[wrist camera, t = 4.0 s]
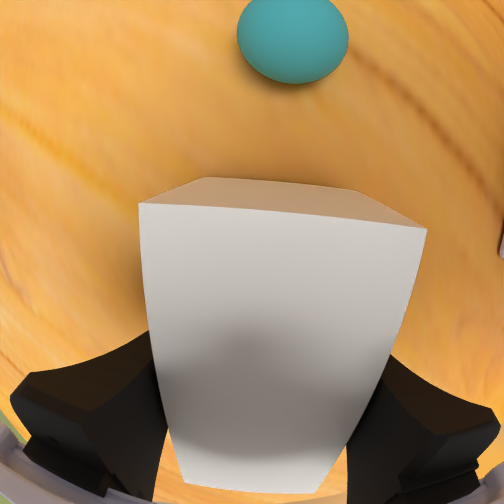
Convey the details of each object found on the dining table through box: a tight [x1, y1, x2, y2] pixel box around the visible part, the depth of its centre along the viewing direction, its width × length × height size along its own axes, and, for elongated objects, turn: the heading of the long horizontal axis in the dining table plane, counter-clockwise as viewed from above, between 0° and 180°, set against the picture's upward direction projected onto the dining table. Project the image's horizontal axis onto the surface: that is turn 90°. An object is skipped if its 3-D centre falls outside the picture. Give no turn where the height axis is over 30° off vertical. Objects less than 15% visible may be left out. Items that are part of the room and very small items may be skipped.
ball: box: [237, 0, 349, 84], centre depth 8 cm, size 4×4×4 cm
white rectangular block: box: [139, 177, 427, 494], centre depth 10 cm, size 6×12×6 cm, turn 177°
